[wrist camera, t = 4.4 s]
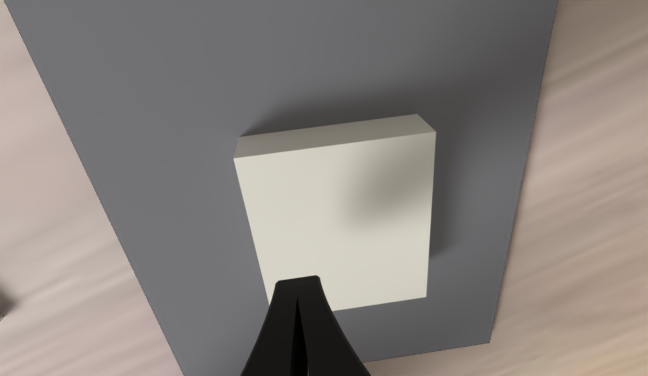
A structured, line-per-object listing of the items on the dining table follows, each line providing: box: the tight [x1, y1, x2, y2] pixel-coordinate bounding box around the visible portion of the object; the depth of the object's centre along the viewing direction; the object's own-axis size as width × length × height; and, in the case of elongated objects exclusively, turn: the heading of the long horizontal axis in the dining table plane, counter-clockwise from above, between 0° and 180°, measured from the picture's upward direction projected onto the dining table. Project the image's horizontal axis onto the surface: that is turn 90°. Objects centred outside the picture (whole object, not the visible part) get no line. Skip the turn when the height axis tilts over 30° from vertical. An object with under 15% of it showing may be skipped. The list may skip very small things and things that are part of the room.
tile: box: [233, 114, 436, 311], centre depth 15 cm, size 8×2×7 cm
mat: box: [4, 0, 558, 376], centre depth 16 cm, size 22×18×1 cm
